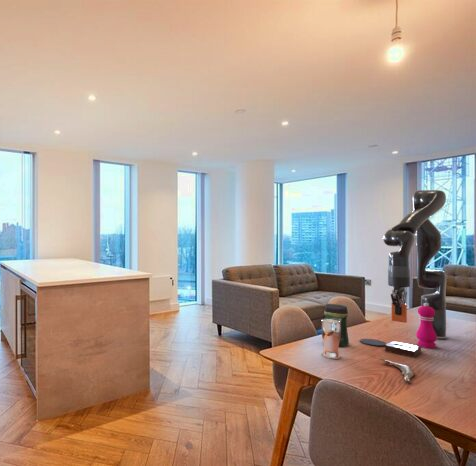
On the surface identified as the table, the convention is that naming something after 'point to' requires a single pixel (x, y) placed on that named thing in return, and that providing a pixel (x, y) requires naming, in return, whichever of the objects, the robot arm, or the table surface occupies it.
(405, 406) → the table surface
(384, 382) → the table surface
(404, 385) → the table surface
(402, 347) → the holder
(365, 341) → the coaster
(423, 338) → the pepper mill
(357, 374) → the table surface
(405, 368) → the jawbone
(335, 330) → the beer glass
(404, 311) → the orange rectangular block
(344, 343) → the coffee jar
